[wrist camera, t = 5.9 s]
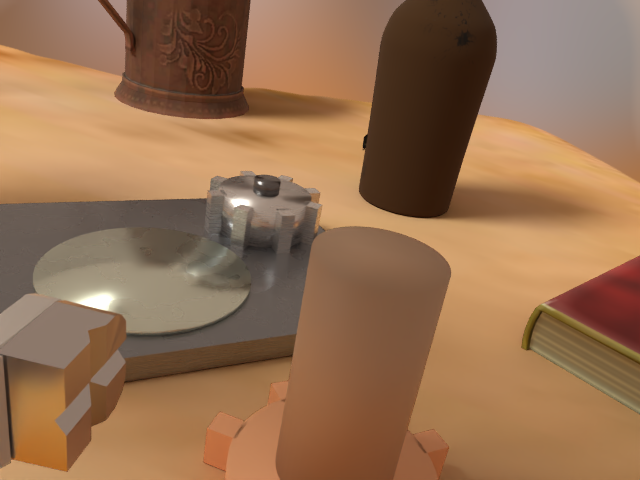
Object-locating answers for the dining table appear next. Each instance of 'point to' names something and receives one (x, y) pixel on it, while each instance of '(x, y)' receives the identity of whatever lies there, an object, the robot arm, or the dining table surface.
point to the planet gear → (348, 370)
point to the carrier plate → (174, 269)
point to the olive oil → (426, 103)
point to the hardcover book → (595, 332)
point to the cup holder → (184, 57)
